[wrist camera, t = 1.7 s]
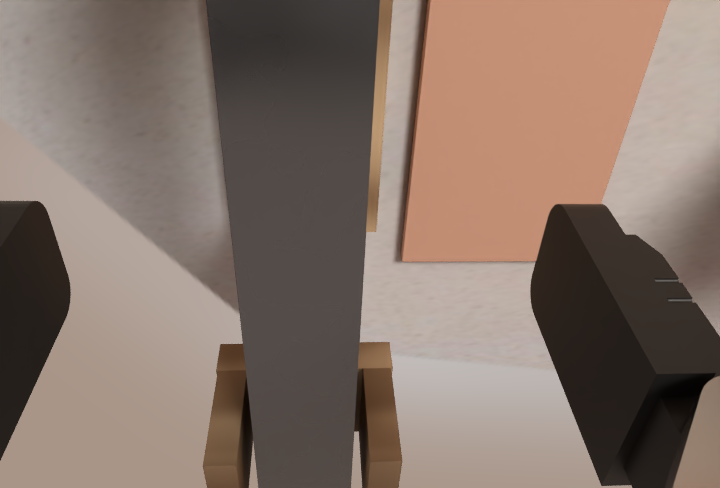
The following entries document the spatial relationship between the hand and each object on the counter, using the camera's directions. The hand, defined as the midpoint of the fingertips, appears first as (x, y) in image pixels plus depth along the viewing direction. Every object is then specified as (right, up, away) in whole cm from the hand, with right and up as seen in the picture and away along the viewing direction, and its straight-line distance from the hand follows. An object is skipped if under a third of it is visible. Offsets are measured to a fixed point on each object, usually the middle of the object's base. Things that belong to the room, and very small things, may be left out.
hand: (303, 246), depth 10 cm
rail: (0, +2, +3) cm, 4 cm away
